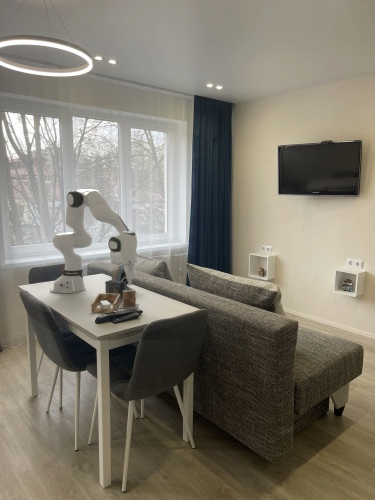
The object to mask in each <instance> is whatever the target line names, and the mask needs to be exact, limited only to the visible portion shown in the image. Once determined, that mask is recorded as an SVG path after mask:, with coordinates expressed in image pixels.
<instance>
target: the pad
mask: <svg viewBox="0 0 375 500" xmlns="http://www.w3.org/2000/svg"><path fill="white" fill-rule="evenodd" d="M139 305H140V304H139V303H136V306H131V307H123V303H121V305H120V307H119V309H121V310H123V309H124V310H125V309H128V310H130V309H133V310H134V309H135V310H137V309H138V308H139Z"/></svg>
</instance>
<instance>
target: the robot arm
mask: <svg viewBox="0 0 375 500" xmlns="http://www.w3.org/2000/svg"><path fill="white" fill-rule="evenodd" d="M66 202H67V205H66V209H65V210H66V212H65V224H66V226H67V227H68V228H70V229H72V230H73V231H71V232H70V231H69V232H61V233H57V234H55V235H54V236H53V239H52V245H53V247H54V248H55V249H56V250H58V251H59V252H60V253H61V254H62V256H63V260H64V268H63V269H62V271H61V276H59V277H58V278H57V279H55V281H54V283H53V286H52V287H51V288H50V289H49V291H50V292H51V293H60V294H61V293H62V294H75V293H78V292H83V291H85V290H86V285H85V282H84V268H83V257H82V256H81V255H80V254H78V253H75V251H74V250H75V249H84V248H88V247H90V246H91V245H92V242H93V238H92V237H93V236H92V235H91V233H90V232H88V231H87V230H86V228H85V225H84V223H85V222H84V221H85V220H84V219H85V208H88V209H89V211H90V212H91V215H92V216H93V218H94V219H95V220H96V221H99V222H102V223H106V224H108V225H111V226H113V227H114V228H115V229H116V231H117V232H118V234H117V235H113V236H111V237H110V238H109V240H108V243H107V244H108V249H109V250H110V251H111V252H112V253H121V254H120V256H121V257H120V258H121V259H120V262H121V264H122V265H124V271H125V274H126V277H127V281H128V285H127V286H128V287H130V286H132V282H133V279H135V267H134V266H135V264H136V263H138V261H137V260H138V252H137V249H138V239H137V235H136V232H134V231H132V230H130V229H129V228H128V226H127V224H125V222H124V220H123V219H122V218H121V217H120V215H119V214H118V213H116V212H115V211H114V210H113V208H112V207H111V206H110V205H109V203H108V201H107V200H106V198H105V197H104V195H103V194H102V193H101V192H100V191H99V190H98V189H95V188H91V189H89V188H83V189H77V190H76V189H73V190H71V191H69V192H68V193H67V195H66Z"/></svg>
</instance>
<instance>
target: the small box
mask: <svg viewBox="0 0 375 500" xmlns="http://www.w3.org/2000/svg"><path fill="white" fill-rule="evenodd" d="M104 283H105V294H120V300H121V299H122V300H123V291H124V281H116V280H112V279H109V280H106V281H105V282H104Z"/></svg>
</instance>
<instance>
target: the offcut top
mask: <svg viewBox="0 0 375 500" xmlns="http://www.w3.org/2000/svg"><path fill="white" fill-rule="evenodd" d="M99 305H100V306H101V307H102V308H103V309H110V308H111V306H112V304H111V302H108V301H107V300H105V301H100V303H99Z"/></svg>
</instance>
